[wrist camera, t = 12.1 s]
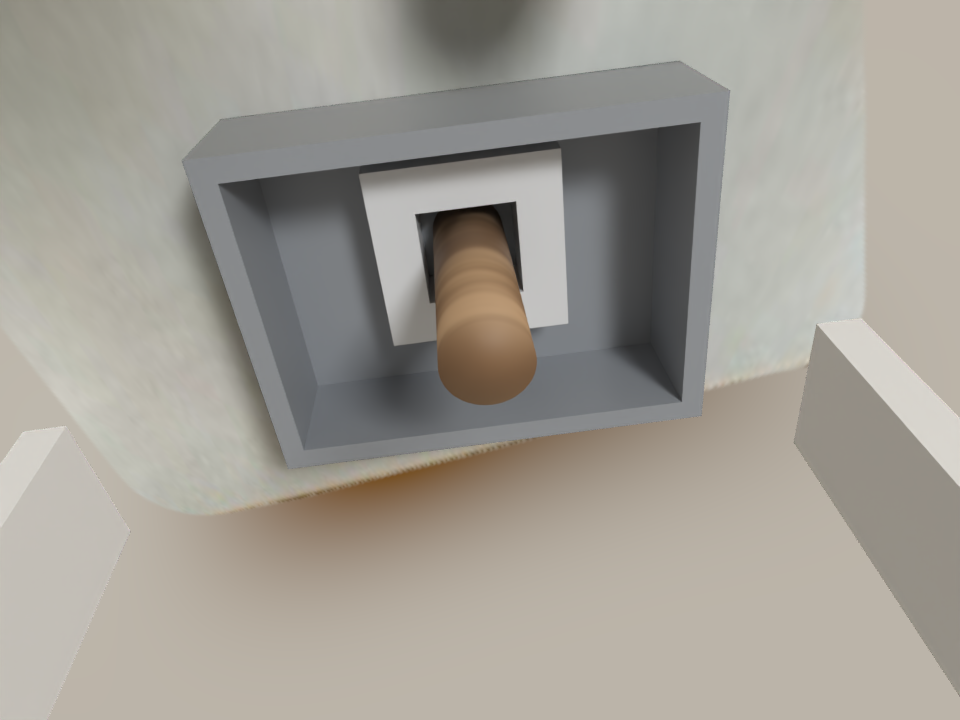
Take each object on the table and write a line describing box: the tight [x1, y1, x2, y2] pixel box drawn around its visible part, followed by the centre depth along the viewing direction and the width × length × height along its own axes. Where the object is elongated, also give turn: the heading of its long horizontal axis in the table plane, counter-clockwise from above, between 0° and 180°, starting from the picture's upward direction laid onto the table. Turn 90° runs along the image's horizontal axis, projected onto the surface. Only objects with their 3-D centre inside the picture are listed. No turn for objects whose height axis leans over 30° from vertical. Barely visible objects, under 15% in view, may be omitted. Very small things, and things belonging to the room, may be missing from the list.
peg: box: [433, 205, 537, 405], centre depth 34 cm, size 4×4×14 cm
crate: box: [182, 61, 730, 469], centre depth 38 cm, size 18×24×7 cm
